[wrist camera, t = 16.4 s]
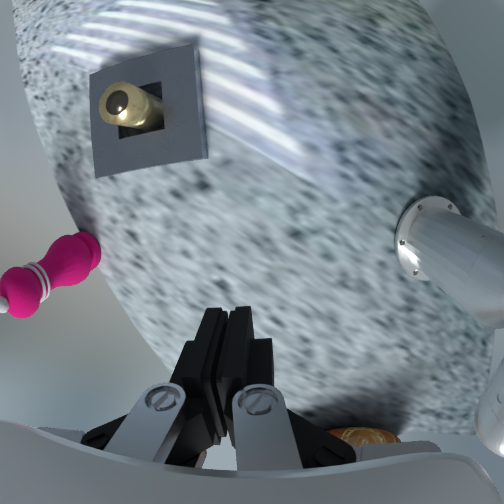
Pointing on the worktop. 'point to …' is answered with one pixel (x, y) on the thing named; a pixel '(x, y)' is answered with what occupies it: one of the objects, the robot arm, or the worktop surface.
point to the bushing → (130, 107)
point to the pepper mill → (48, 273)
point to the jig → (174, 107)
